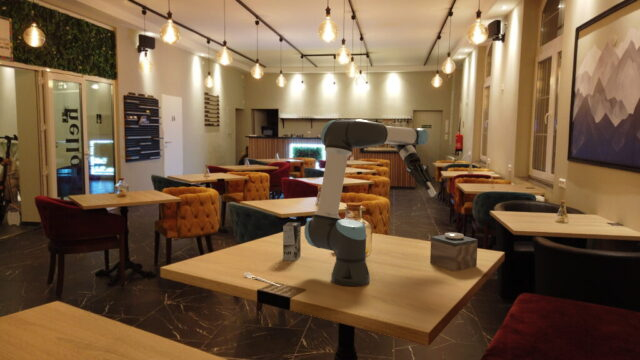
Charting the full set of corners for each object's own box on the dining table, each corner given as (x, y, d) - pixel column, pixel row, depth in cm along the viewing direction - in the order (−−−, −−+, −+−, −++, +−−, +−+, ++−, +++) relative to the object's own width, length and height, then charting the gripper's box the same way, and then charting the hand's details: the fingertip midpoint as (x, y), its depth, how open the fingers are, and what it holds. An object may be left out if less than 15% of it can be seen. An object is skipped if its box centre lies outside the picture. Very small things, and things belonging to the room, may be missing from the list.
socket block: (454, 271, 192) (455, 243, 191) (430, 262, 204) (431, 236, 203) (476, 266, 200) (477, 239, 198) (452, 258, 212) (453, 233, 210)
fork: (278, 289, 171) (278, 284, 170) (242, 277, 183) (242, 272, 183) (284, 287, 173) (284, 282, 173) (248, 275, 186) (249, 270, 186)
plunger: (453, 266, 196) (454, 237, 195) (440, 261, 203) (440, 233, 202) (466, 263, 201) (467, 235, 199) (452, 259, 207) (453, 231, 206)
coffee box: (296, 261, 206) (296, 226, 204) (282, 260, 207) (282, 225, 206) (301, 255, 215) (301, 222, 213) (288, 255, 216) (288, 221, 214)
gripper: (416, 161, 229) (439, 198, 216) (396, 162, 222) (418, 200, 209) (424, 151, 223) (448, 188, 211) (403, 151, 217) (427, 190, 204)
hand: (433, 194), depth 210 cm, fingers closed
